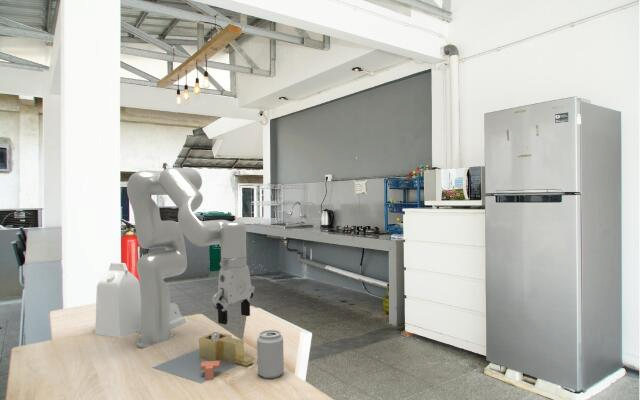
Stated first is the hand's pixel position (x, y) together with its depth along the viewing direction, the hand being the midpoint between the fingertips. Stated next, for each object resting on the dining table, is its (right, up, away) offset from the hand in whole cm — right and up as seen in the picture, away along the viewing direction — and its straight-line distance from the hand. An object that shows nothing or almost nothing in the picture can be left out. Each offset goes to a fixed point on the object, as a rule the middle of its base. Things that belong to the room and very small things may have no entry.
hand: (234, 319), depth 132 cm
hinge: (-35, -14, +39) cm, 54 cm away
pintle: (-7, -14, +4) cm, 16 cm away
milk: (-50, -14, +34) cm, 63 cm away
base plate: (-10, -14, -2) cm, 17 cm away
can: (+12, -14, -6) cm, 19 cm away
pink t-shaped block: (-5, -14, -9) cm, 18 cm away
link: (-2, -12, +1) cm, 13 cm away
